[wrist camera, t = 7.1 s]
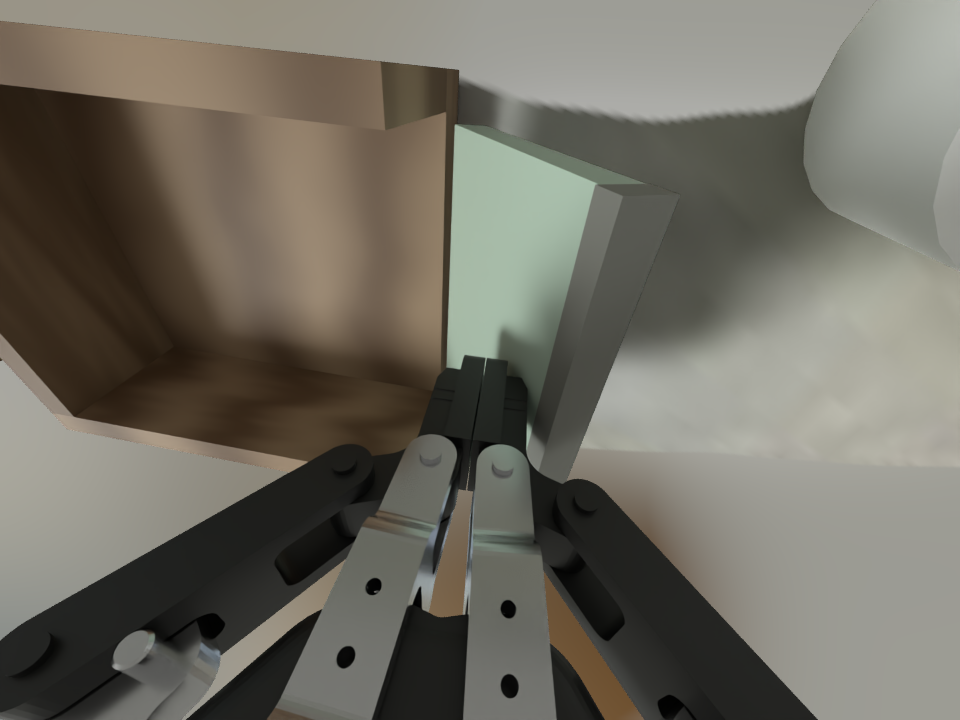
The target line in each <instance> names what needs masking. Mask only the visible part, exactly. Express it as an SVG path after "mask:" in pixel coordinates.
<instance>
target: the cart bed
mask: <svg viewBox="0 0 960 720" xmlns="http://www.w3.org/2000/svg"><path fill="white" fill-rule="evenodd" d="M458 87H459V70H455V69H446V68H436V67H427V66H418V65H409V64H399V63H390V62H381V61H371V60H362V59H352V58H342V57H334V56H324V55H315V54H306V53H295V52H287V51H286V52H285V51H277V50H267V49H259V48H249V47H240V46H231V45H221V44H212V43H202V42H193V41H182V40H173V39H164V38H155V37H146V36H137V35H127V34H117V33H108V32H99V31H90V30H80V29H71V28H61V27H51V26H43V25H33V24H24V23H14V22H5V21H0V358H1V359H2V360H3V361H4V362H5V363H6V364H7V365H8V366H9V367H10V368H11V369H12V370H13V372H14V373H15V374H16V375H17V376H18V377H19V378H20V379H21V380H22V381H23V382H24V383H25V385H26V386H27V387H28V388H29V389H30V390H31V391H32V392H33V393H34V394H35V395H36V396H37V397H38V398H39V400H40V401H41V402H42V403H43V404H44V405H45V406H46V407H47V408H48V409H49V410H50V411H51V412H52V414H53V415H54V416H55V417H56V418H57V419H58V420H59V421H60V422H61V423H62V424H63V425H64V426H65V428H66V429H69V430H74V431H79V432H84V433H89V434H94V435H100V436H105V437H110V438H116V439H120V440H125V441H131V442H136V443H141V444H146V445H151V446H157V447H162V448H167V449H172V450H177V451H182V452H188V453H193V454H198V455H203V456H209V457H213V458H219V459H224V460H229V461H234V462H240V463H244V464H250V465H255V466H260V467H265V468H270V469H276V470H281V471H286V472H291V471H293V470H295V469H297V468H298V467H300V466H302V465H304V464H305V463H307V462H309V461H311V460H313V459H314V458H316V457H318V456H320V455H321V454H323V453H325V452H327V451H328V450H330V449H332V448H334V447H337V446H340V445H344V444H357V445H360V446H363V447H365V448H366V449H367V450H368V451H369V452H370V453H371V455H372V456H376V455H383V454H390V453H395V452H399V451H401V450H403V449H405V448H407V446H408V445H409V444H410V443H411V442H412V441H413V440H414V439H416V438H417V436H418V434H419V431H420V428H421V425H422V422H423V419H424V416H425V413H426V410H427V407H428V404H429V401H430V399H431V395H432V392H433V390H434V386H435V383H436V380H437V377H438V376H439V375H440V374H441V373H442V372H443V371H444V370H445V369H446V366H447V337H448V308H449V279H450V250H451V221H452V191H453V162H454V133H455V124H457V114H458Z"/></svg>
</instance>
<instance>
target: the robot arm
mask: <svg viewBox="0 0 960 720" xmlns="http://www.w3.org/2000/svg"><path fill="white" fill-rule="evenodd" d="M485 359H486V358H485V357H478V356H470V355H464V358H463V362H462V365H461V369H455V368H448V367H447V368H446V369H445V370H444V371H443V372H442V373H441V374H440V375H439V376H438V377H437V380H436V383H435V386H434V390H433V392H432V395H431V399H430V401H429V404H428V407H427V410H426V413H425V416H424V419H423V422H422V425H421V428H420V431H419V434H418V436H417V438H416V439H414V440H413V441H412V442H411V443H410V444H409V445H408V446H407V448H405V449H403V450H401V451H399V452H395V453H390V454H383V455H376V456H372V455H371V453H370V452H369V451H368V450H367V449H366V448H365V447H363V446H360V445H357V444H344V445H340V446H337V447H334V448H332V449H330V450H328V451H327V452H325V453H323V454H321V455H320V456H318V457H316V458H314V459H313V460H311V461H309V462H307V463H305V464H304V465H302V466H300V467H298V468H297V469H295V470H293V471H291V472H290V473H288V474H286V475H284V476H283V477H281V478H279V479H277V480H276V481H274V482H272V483H270V484H268V485H267V486H265V487H263V488H261V489H259V490H258V491H256V492H254V493H252V494H251V495H249V496H247V497H245V498H244V499H242V500H240V501H238V502H236V503H235V504H233V505H231V506H229V507H228V508H226V509H224V510H222V511H221V512H219V513H217V514H215V515H213V516H212V517H210V518H208V519H206V520H205V521H203V522H201V523H199V524H197V525H196V526H194V527H192V528H190V529H189V530H187V531H185V532H183V533H182V534H180V535H178V536H176V537H174V538H173V539H171V540H169V541H167V542H166V543H164V544H162V545H160V546H159V547H157V548H155V549H153V550H152V551H150V552H148V553H146V554H144V555H143V556H141V557H139V558H137V559H135V560H134V561H132V562H130V563H128V564H127V565H125V566H123V567H121V568H120V569H118V570H116V571H114V572H113V573H111V574H109V575H107V576H105V577H104V578H102V579H100V580H98V581H97V582H95V583H93V584H91V585H89V586H88V587H86V588H84V589H82V590H81V591H79V592H77V593H75V594H74V595H72V596H70V597H68V598H66V599H65V600H63V601H61V602H59V603H58V604H56V605H54V606H52V607H51V608H49V609H47V610H45V611H43V612H42V613H40V614H38V615H37V616H35V617H33V618H31V619H29V620H28V621H26V622H24V623H23V624H21V625H20V626H18V627H17V628H16V629H14V630H13V631H12V632H10V633H9V634H8V635H7V636H5V637H4V638H3V639H2V640H1V641H0V719H3V720H182V718H183V717H184V716H185V715H186V714H187V713H188V712H189V711H190V710H191V709H192V708H193V707H194V706H195V705H196V704H197V703H198V702H199V701H200V700H201V698H202V697H203V696H204V695H205V694H206V692H207V691H208V689H209V688H210V686H211V685H212V683H213V681H214V679H215V677H216V674H217V672H218V668H219V665H220V656H221V655H222V654H223V653H225V652H226V651H227V650H229V649H230V648H231V647H232V646H234V645H235V644H236V643H238V642H239V641H240V640H241V639H243V638H244V637H245V636H247V635H248V634H249V633H250V632H252V631H253V630H254V629H256V628H257V627H258V626H260V625H261V624H262V623H263V622H265V621H266V620H267V619H269V618H270V617H271V616H272V615H274V614H275V613H276V612H278V611H279V610H280V609H281V608H283V607H284V606H285V605H287V604H288V603H289V602H291V601H292V600H293V599H294V598H295V597H297V596H298V595H300V594H301V593H302V592H303V591H305V590H306V589H307V588H308V587H310V586H311V585H312V584H314V583H315V582H316V581H318V580H319V579H320V578H322V577H323V576H324V575H325V574H327V573H328V572H329V571H330V570H332V569H333V568H334V567H336V566H337V565H338V564H340V563H341V562H342V561H344V560H345V559H346V561H345V563H344V565H343V567H342V569H341V571H340V574H339V576H338V578H337V580H336V582H335V584H334V586H333V588H332V590H331V592H330V594H329V597H328V599H327V601H326V603H325V605H324V607H323V609H322V610H320V611H317V612H316V613H314V614H312V615H310V616H308V617H307V618H305V619H304V620H303V621H301V622H299V623H298V624H297V625H295V626H294V627H293V628H292V629H290V630H289V631H288V632H287V633H286V634H285V635H283V636H282V637H281V638H280V639H279V640H278V641H276V642H275V643H274V644H273V645H272V646H271V647H270V648H268V649H267V650H266V651H265V652H264V653H263V654H261V655H260V656H259V657H258V658H257V659H256V660H254V661H253V662H252V663H251V664H250V665H249V666H247V667H246V668H245V669H244V670H243V671H242V672H241V673H239V675H237V676H236V677H235V678H234V679H233V680H231V681H230V682H229V683H228V684H227V685H226V686H224V687H223V688H222V689H221V690H220V691H219V692H218V693H216V694H215V695H214V696H213V697H212V698H210V700H208V701H207V702H206V703H205V704H204V705H202V706H201V707H200V708H199V709H198V710H197V711H195V712H194V713H193V714H192V715H191V716H190V717H189V718H187V719H186V720H605V719H604V718H603V716H602V714H601V713H600V711H599V709H598V707H597V706H596V704H595V702H594V701H593V699H592V697H591V695H590V694H589V692H588V690H587V688H586V687H585V685H584V683H583V682H582V680H581V678H580V677H579V675H578V674H577V672H576V671H575V670H574V669H573V667H572V665H571V664H570V663H569V662H568V660H567V659H566V658H565V657H564V656H563V655H562V654H561V653H560V652H559V651H558V650H557V649H556V648H555V647H554V646H553V645H551V644H550V640H549V629H548V618H547V606H546V595H545V584H544V573H543V570H544V572H545V573H546V575H547V576H548V578H549V579H550V581H551V582H552V584H553V585H554V587H555V588H556V590H557V591H558V593H559V594H560V596H561V597H562V599H563V600H564V602H565V603H566V604H567V606H568V607H569V609H570V610H571V612H572V613H573V615H574V616H575V618H576V619H577V621H578V622H579V624H580V625H581V627H582V628H583V629H584V631H585V632H586V634H587V636H588V637H589V638H590V640H591V641H592V643H593V644H594V646H595V647H596V649H597V650H598V652H599V653H600V655H601V656H602V657H603V659H604V661H605V662H606V663H607V665H608V666H609V668H610V670H611V671H612V672H613V674H614V675H615V677H616V678H617V680H618V681H619V683H620V684H621V686H622V687H623V689H624V690H625V692H626V693H627V695H628V696H629V698H630V699H631V701H632V702H633V703H634V705H635V707H636V708H637V709H638V711H639V712H640V714H641V715H642V717H643V718H644V720H818V719H816V717H815V716H814V715H813V714H812V713H811V712H810V711H809V710H808V709H807V708H806V706H805V705H803V703H802V702H801V701H800V700H799V699H798V698H797V697H796V696H795V695H794V694H793V693H792V692H791V690H790V689H789V688H788V687H787V686H786V685H785V684H784V683H783V682H782V681H781V680H780V679H779V678H778V677H777V675H775V673H774V672H773V671H772V670H771V669H770V668H769V667H768V666H767V665H766V664H765V663H764V662H763V660H762V659H761V658H760V657H759V656H758V655H757V654H756V653H755V652H754V651H753V650H752V649H751V648H750V647H749V645H747V643H746V642H745V641H744V640H743V639H742V638H741V637H740V636H739V635H738V634H737V633H736V632H735V630H733V628H732V627H731V626H730V625H729V624H728V623H727V622H726V621H725V620H724V619H723V618H722V617H721V616H720V615H719V613H718V612H717V611H716V610H715V609H714V608H713V607H712V606H711V605H710V604H709V603H708V602H707V601H706V600H705V598H704V597H703V596H702V595H701V594H700V593H699V592H698V591H697V590H696V589H695V588H694V587H693V586H692V584H690V582H689V581H688V580H687V579H686V578H685V577H684V576H683V575H682V574H681V573H680V572H679V571H678V569H677V568H675V566H674V565H673V564H672V563H671V562H670V561H669V560H668V559H667V558H666V557H665V556H664V555H663V554H662V552H661V551H660V550H659V549H658V548H657V547H656V546H655V545H654V544H653V543H652V542H651V541H650V540H649V538H648V537H647V536H646V535H645V534H644V533H643V532H642V531H641V530H640V529H639V528H638V527H637V526H636V525H635V523H634V522H633V521H632V520H631V519H630V518H629V517H628V516H627V515H626V514H625V513H624V512H623V511H622V510H621V508H620V507H619V506H618V505H617V504H616V503H615V502H614V501H613V500H612V499H611V498H610V497H609V496H608V495H607V493H606V492H605V491H604V490H603V489H601V488H600V487H599V486H598V485H596V484H594V483H592V482H590V481H587V480H583V479H573V480H569V481H567V482H565V483H563V484H561V483H559V482H557V481H555V480H553V479H550V478H548V477H546V476H544V475H543V474H541V473H540V472H538V471H537V470H536V469H535V468H534V467H533V465H532V464H531V463H530V461H529V459H528V456H527V451H526V444H527V395H528V389H527V387H526V385H525V383H524V381H523V379H522V378H520V377H513V376H507V367H508V361H507V360H500V359H493V358H487V360H486V366H485ZM484 368H485V372H484ZM470 461H471V462H470ZM469 467H470V471H469ZM468 473H469V481H468V491H473V497H472V505H471V513H470V525H469V540H468V554H467V569H466V584H465V595H464V607H463V615H458V616H451V617H436V616H434V615H432V614H430V613H428V611H429V607H430V603H431V598H432V593H433V587H434V582H435V577H436V574H437V570H438V566H439V563H440V559H441V555H442V552H443V548H444V544H445V540H446V537H447V533H448V530H449V526H450V522H451V519H452V515H453V510H454V508H455V505H456V500H457V494H458V489H461V490H466V485H467V479H468Z"/></svg>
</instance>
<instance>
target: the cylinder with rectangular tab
mask: <svg viewBox="0 0 960 720" xmlns="http://www.w3.org/2000/svg"><path fill="white" fill-rule="evenodd" d="M803 164H804V167H805V170H806V173H807V177H808V180H809V183H810V186H811V189H812V191H813V192H814V193H815V194H816V196H817V197H818V198H819V199H820V200H821V201H822V203H823V204H824V205H825V206H826V207H827V208H828V209H829V210H831V211H833V212H835V213H837V214H839V215H841V216H843V217H845V218H847V219H849V220H851V221H853V222H855V223H857V224H859V225H861V226H864V227H866V228H868V229H870V230H872V231H874V232H876V233H879V234H881V235H883V236H885V237H887V238H889V239H891V240H893V241H896V242H898V243H900V244H902V245H904V246H906V247H908V248H911V249H913V250H915V251H917V252H919V253H921V254H923V255H925V256H928V257H930V258H932V259H934V260H936V261H938V262H940V263H943V264H945V265H947V266H949V267H951V268H953V269H955V270H957V271H960V0H876V1H875V2H874V4H873V5H872V6H871V8H870V9H869V10H868V12H867V13H866V14H865V15H864V17H863V18H862V19H861V20H860V22H859V23H858V25H857V26H856V27H855V28H854V29H853V31H852V32H851V33H850V35H849V36H848V37H847V39H846V40H845V41H844V42H843V44H842V45H841V47H840V49H839V50H838V52H837V54H836V56H835V58H834V60H833V62H832V63H831V65H830V67H829V69H828V71H827V73H826V75H825V76H824V78H823V80H822V82H821V84H820V86H819V87H818V89H817V92H816V95H815V98H814V102H813V105H812V108H811V111H810V115H809V118H808V121H807V124H806V128H805V136H804V161H803Z"/></svg>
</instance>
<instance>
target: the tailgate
mask: <svg viewBox="0 0 960 720" xmlns="http://www.w3.org/2000/svg"><path fill="white" fill-rule="evenodd" d="M679 197H680V194H678V193H675V192H672V191H669V190H666V189H664V188H661V187H658V186H655V185H652V184H646V183H643V182H640V181H637V180H635V179H632V178H629V177H626V176H624V175H621V174H618V173H615V172H613V171H610V170H607V169H604V168H601V167H599V166H596V165H593V164H590V163H588V162H585V161H582V160H579V159H577V158H574V157H571V156H568V155H566V154H563V153H560V152H557V151H554V150H552V149H549V148H546V147H543V146H541V145H538V144H535V143H532V142H530V141H527V140H524V139H521V138H518V137H516V136H513V135H510V134H507V133H505V132H502V131H499V130H496V129H494V128H491V127H488V126H481V125H461V124H455V133H454V162H453V191H452V221H451V250H450V279H449V308H448V337H447V366H446V368H447V367H448V368H455V369H461V365H462V362H463V358H464V355H470V356H478V357H485V358H486V359H485V366H486V360H487V358H493V359H500V360H507V361H508V367H507V376H513V377H520V378H522V379H523V381H524V383H525V385H526V387H527V389H528V395H527V444H526V451H527V456H528V459H529V461H530V463H531V464H532V465H533V467H534V468H535V469H536V470H537V471H538V472H540V473H541V474H543V475H544V476H546V477H548V478H550V479H553V480H555V481H557V482H559V483H561V484H563V483H565V482H566V481H567V478H568V476H569V473H570V471H571V468H572V466H573V463H574V461H575V458H576V456H577V453H578V451H579V448H580V446H581V443H582V441H583V438H584V436H585V433H586V431H587V428H588V426H589V423H590V421H591V418H592V416H593V413H594V411H595V408H596V406H597V403H598V401H599V398H600V396H601V393H602V390H603V388H604V385H605V383H606V380H607V378H608V375H609V373H610V370H611V368H612V365H613V363H614V360H615V358H616V355H617V353H618V350H619V348H620V345H621V343H622V340H623V338H624V335H625V333H626V330H627V328H628V325H629V323H630V320H631V318H632V315H633V313H634V310H635V308H636V305H637V303H638V300H639V298H640V295H641V293H642V290H643V288H644V285H645V283H646V280H647V278H648V275H649V273H650V270H651V268H652V265H653V262H654V260H655V257H656V255H657V252H658V250H659V247H660V245H661V242H662V240H663V237H664V235H665V232H666V230H667V227H668V225H669V222H670V220H671V217H672V215H673V212H674V210H675V207H676V205H677V202H678V200H679ZM484 372H485V368H484Z"/></svg>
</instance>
